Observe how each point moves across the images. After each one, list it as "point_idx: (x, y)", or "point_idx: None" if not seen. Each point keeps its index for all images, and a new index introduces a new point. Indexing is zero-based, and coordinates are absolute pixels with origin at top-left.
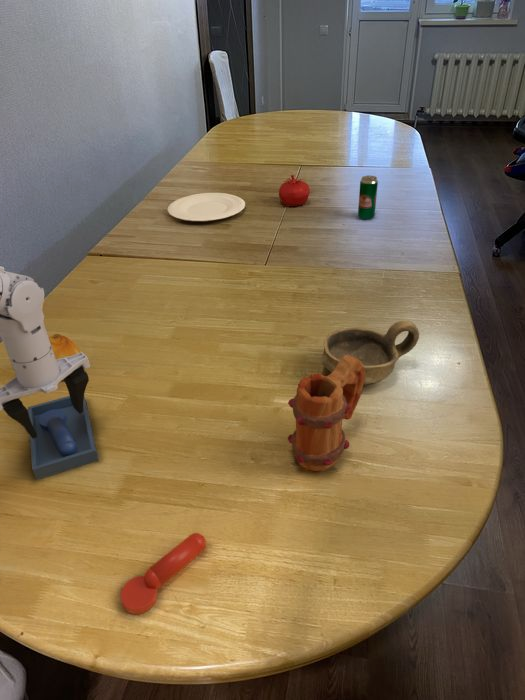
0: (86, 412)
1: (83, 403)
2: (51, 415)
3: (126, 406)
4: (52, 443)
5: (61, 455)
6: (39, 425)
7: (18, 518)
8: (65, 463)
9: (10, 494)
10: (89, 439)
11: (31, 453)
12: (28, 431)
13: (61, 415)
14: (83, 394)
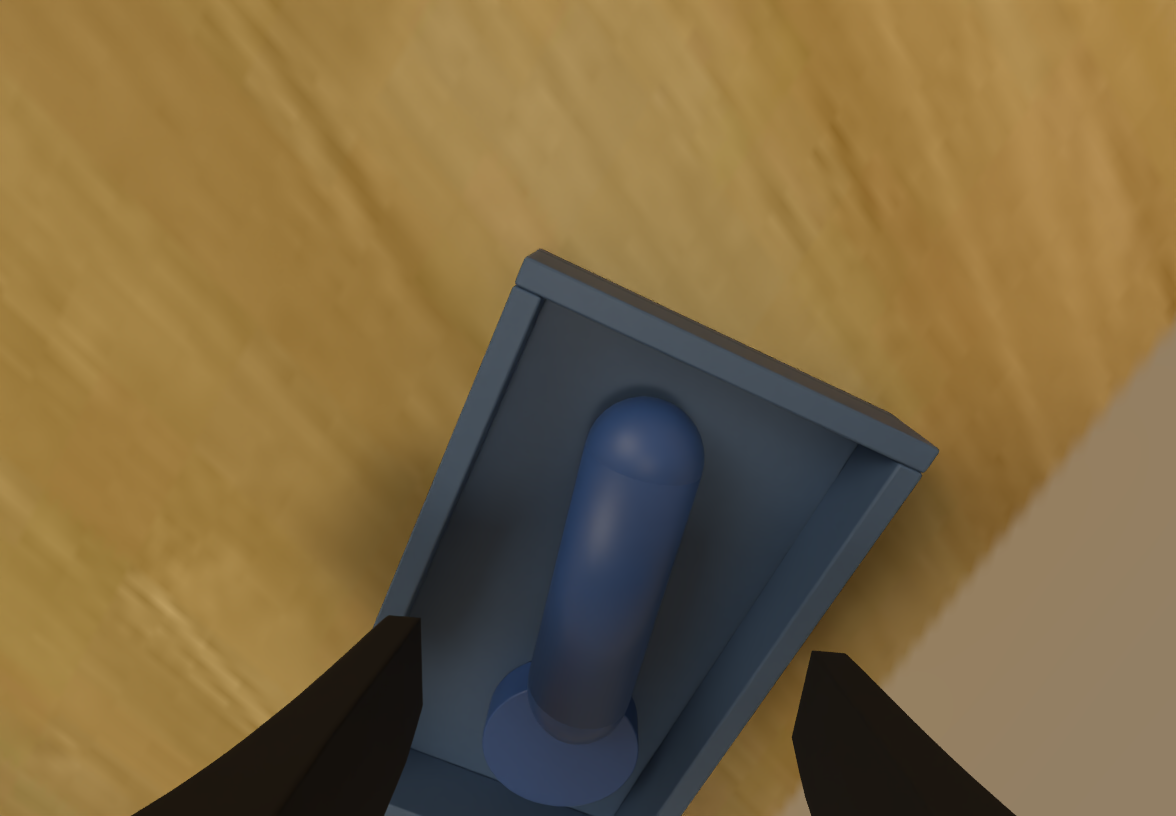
0: None
1: None
2: (552, 764)
3: (165, 525)
4: None
5: None
6: None
7: (1169, 217)
8: (735, 349)
9: (1054, 433)
10: (498, 393)
11: (846, 581)
12: (921, 730)
13: (509, 724)
14: (220, 762)
